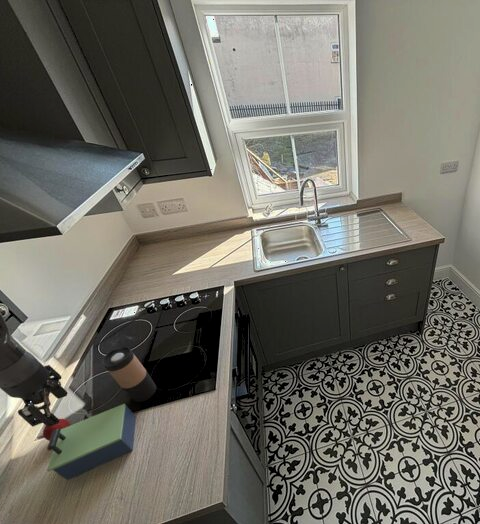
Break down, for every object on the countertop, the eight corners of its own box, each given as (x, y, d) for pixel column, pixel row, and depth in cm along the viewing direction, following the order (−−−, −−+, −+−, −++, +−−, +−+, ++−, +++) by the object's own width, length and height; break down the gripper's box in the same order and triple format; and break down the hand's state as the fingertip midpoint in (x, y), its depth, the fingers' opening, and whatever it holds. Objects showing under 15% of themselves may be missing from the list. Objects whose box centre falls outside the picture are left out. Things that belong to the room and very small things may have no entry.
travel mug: (141, 406, 97) (111, 370, 86) (127, 398, 100) (96, 361, 89) (162, 387, 103) (135, 350, 92) (148, 379, 106) (120, 343, 94)
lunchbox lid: (48, 471, 76) (35, 463, 73) (60, 431, 85) (49, 422, 82) (121, 439, 82) (111, 430, 79) (125, 404, 91) (117, 395, 88)
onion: (66, 445, 88) (49, 432, 84) (47, 445, 88) (29, 432, 84) (80, 425, 93) (65, 412, 89) (62, 426, 93) (46, 412, 89)
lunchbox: (68, 480, 81) (52, 470, 77) (77, 441, 89) (64, 430, 85) (132, 450, 86) (121, 439, 82) (135, 416, 95) (125, 404, 91)
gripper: (8, 356, 72) (49, 394, 81) (-18, 405, 62) (31, 442, 71) (47, 344, 75) (82, 382, 84) (28, 389, 64) (70, 426, 73)
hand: (59, 409), depth 77 cm, fingers open, 8 cm apart
